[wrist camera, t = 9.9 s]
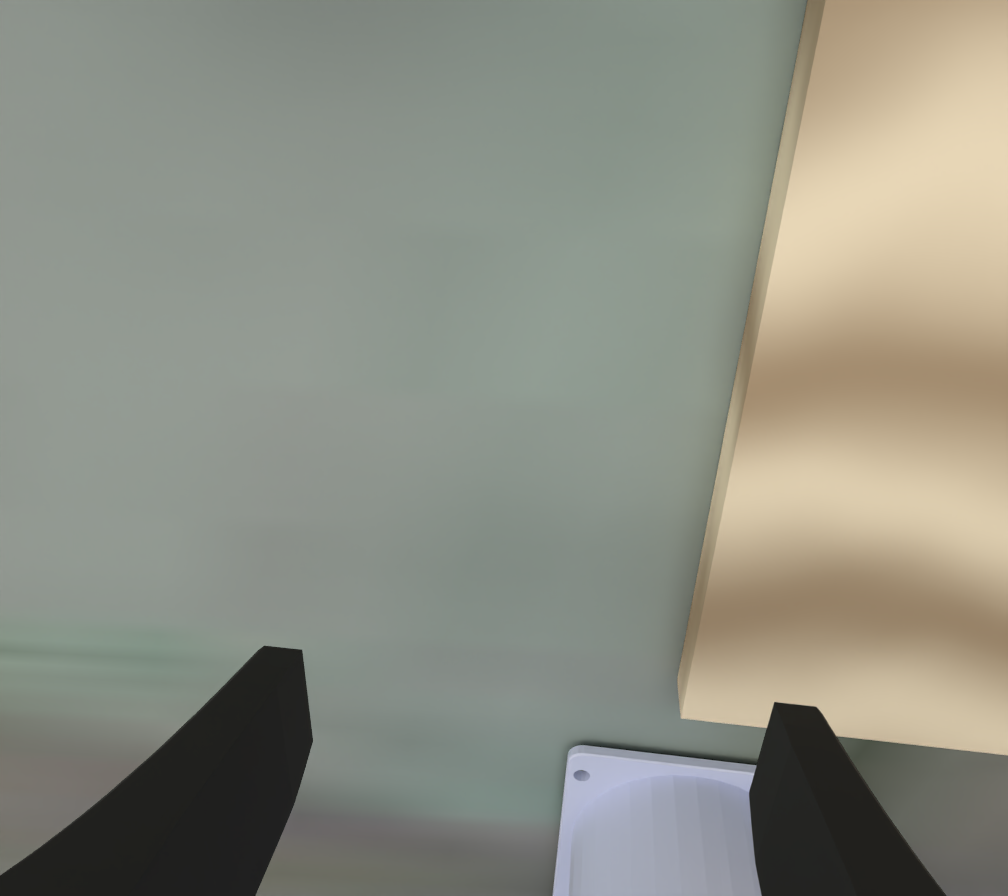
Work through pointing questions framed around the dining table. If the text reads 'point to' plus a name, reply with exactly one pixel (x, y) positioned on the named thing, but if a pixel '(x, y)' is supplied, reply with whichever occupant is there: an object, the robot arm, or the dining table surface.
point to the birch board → (872, 397)
